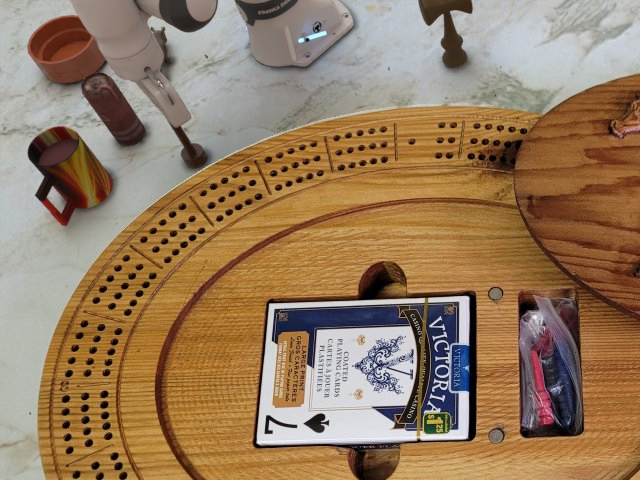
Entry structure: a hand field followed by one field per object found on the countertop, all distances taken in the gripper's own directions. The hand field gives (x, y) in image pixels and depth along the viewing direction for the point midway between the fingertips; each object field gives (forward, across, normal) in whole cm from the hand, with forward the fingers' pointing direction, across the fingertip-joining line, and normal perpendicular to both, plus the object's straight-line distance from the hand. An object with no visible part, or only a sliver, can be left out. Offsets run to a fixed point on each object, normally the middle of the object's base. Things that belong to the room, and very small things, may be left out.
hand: (170, 114), depth 151 cm
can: (+12, +15, +7) cm, 21 cm away
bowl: (+12, +43, +6) cm, 45 cm away
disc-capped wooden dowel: (+12, 0, 0) cm, 12 cm away
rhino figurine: (+12, +29, -8) cm, 33 cm away
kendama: (+12, -15, -53) cm, 57 cm away
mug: (+12, +7, +21) cm, 25 cm away
